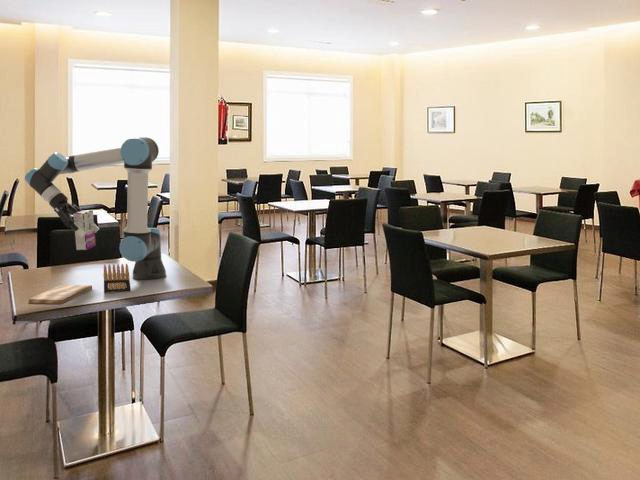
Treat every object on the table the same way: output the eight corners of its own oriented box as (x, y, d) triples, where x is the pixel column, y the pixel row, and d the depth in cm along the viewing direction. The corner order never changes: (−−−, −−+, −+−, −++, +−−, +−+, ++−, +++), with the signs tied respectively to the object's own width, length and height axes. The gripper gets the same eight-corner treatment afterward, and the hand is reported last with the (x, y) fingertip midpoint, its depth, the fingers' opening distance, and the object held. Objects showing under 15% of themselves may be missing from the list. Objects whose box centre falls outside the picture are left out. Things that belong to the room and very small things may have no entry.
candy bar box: (85, 245, 277) (82, 210, 274) (96, 245, 276) (93, 209, 274) (75, 250, 266) (72, 213, 263) (86, 250, 265) (83, 212, 263)
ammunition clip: (130, 290, 260) (129, 262, 258) (130, 291, 258) (128, 263, 256) (104, 291, 258) (102, 263, 256) (104, 292, 257) (102, 264, 255)
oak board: (92, 288, 263) (91, 285, 263) (62, 303, 240) (61, 299, 239) (61, 288, 265) (61, 284, 265) (29, 302, 241) (28, 298, 241)
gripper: (64, 201, 281) (98, 234, 282) (34, 207, 258) (71, 243, 259) (74, 189, 280) (108, 223, 280) (45, 194, 257) (82, 230, 257)
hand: (90, 232), depth 270 cm, fingers closed on candy bar box, 11 cm apart
